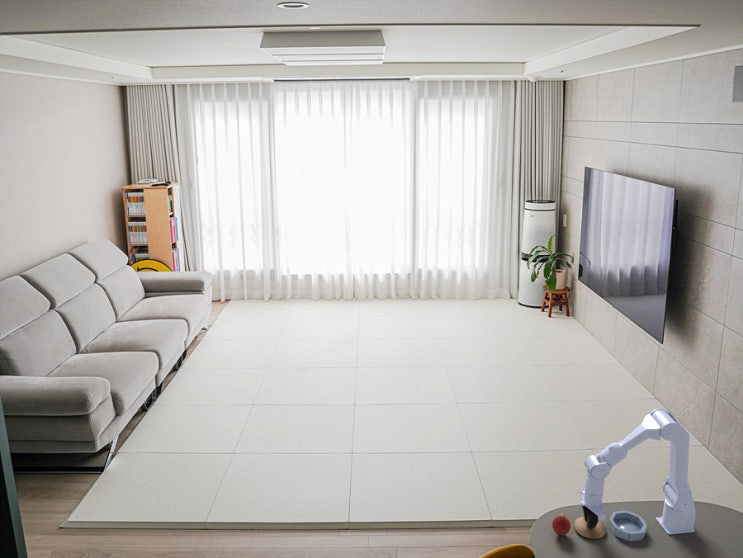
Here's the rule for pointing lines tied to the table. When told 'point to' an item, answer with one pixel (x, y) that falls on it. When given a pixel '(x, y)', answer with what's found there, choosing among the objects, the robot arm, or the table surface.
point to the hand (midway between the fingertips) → (590, 524)
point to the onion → (561, 525)
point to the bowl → (627, 525)
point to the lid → (588, 532)
